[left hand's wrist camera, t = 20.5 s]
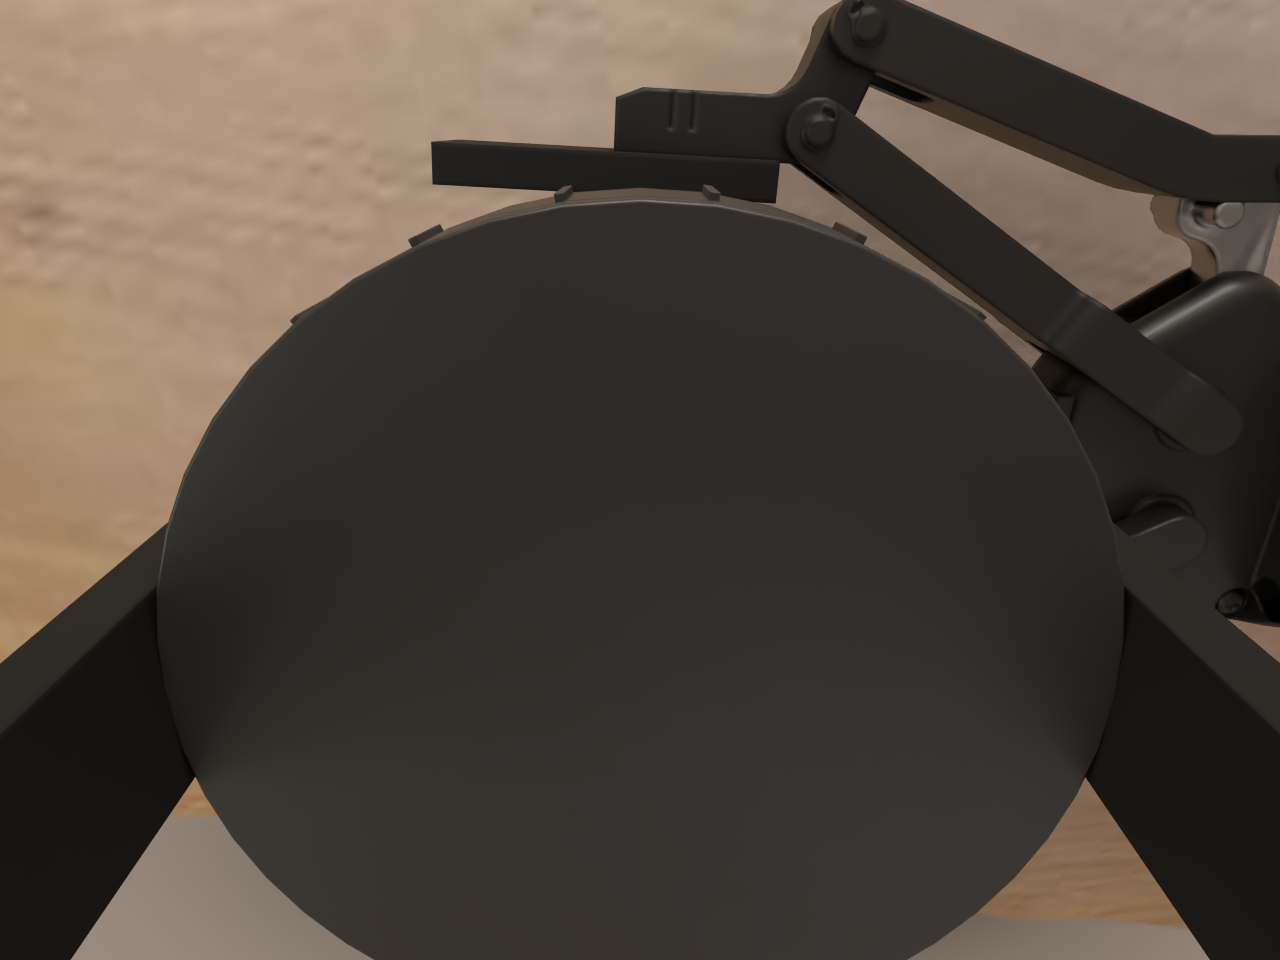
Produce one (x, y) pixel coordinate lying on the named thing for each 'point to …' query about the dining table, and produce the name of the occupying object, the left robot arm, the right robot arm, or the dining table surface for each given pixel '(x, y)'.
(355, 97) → the dining table surface
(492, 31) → the dining table surface
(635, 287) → the lid
